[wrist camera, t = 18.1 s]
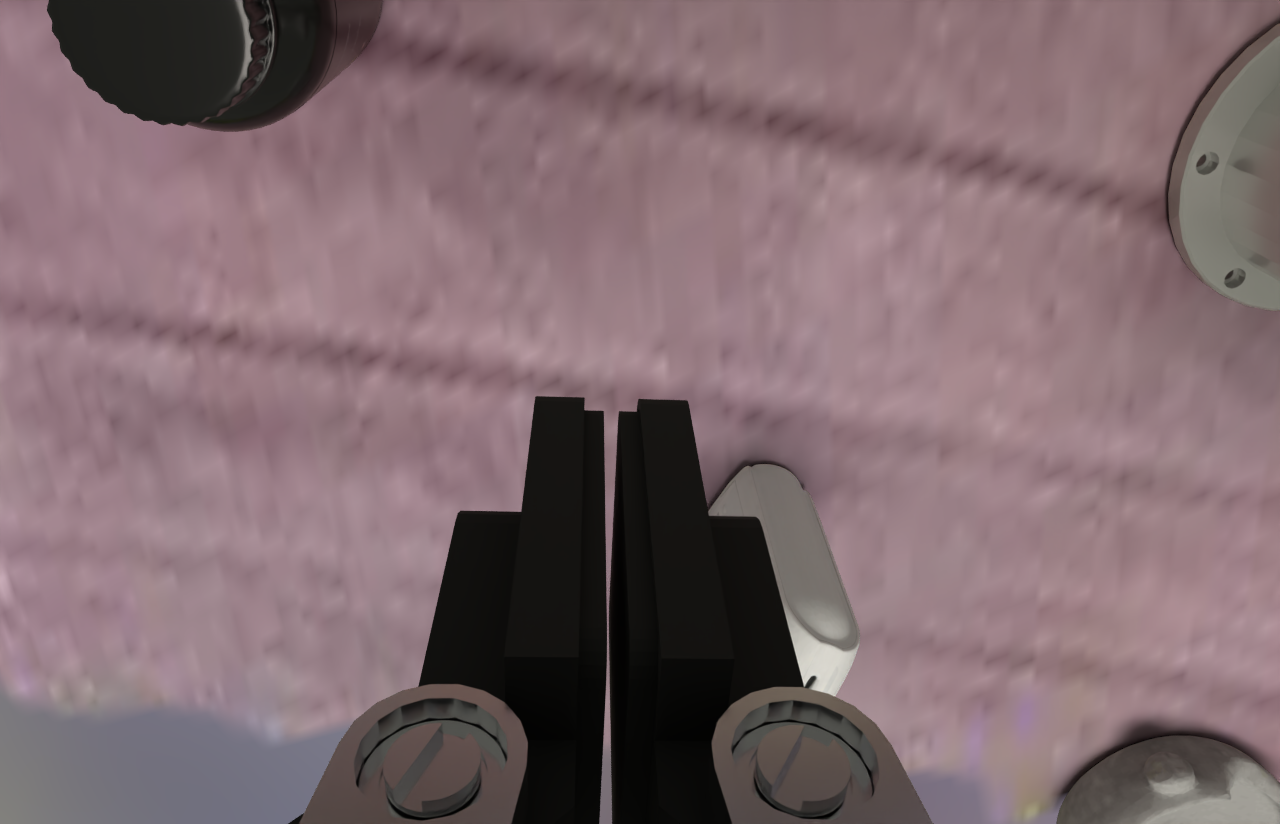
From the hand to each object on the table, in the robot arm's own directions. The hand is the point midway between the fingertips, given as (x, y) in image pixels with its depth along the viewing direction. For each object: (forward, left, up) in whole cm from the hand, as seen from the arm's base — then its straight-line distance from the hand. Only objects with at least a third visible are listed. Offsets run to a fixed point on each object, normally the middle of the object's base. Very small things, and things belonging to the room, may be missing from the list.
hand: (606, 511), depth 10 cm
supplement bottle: (+11, -3, -28) cm, 30 cm away
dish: (-34, +43, -28) cm, 62 cm away
